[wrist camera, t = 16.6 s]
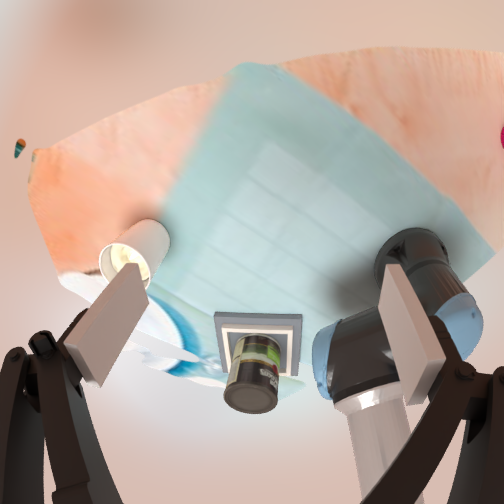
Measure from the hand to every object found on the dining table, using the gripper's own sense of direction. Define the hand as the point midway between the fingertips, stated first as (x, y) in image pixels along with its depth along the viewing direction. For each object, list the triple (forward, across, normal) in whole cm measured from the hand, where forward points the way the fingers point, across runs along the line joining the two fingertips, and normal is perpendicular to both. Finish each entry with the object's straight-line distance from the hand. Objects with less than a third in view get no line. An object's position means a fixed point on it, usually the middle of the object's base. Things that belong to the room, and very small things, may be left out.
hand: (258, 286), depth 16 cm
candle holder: (+37, +25, +15) cm, 47 cm away
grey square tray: (+37, +5, +41) cm, 55 cm away
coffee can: (+35, +5, +41) cm, 54 cm away
